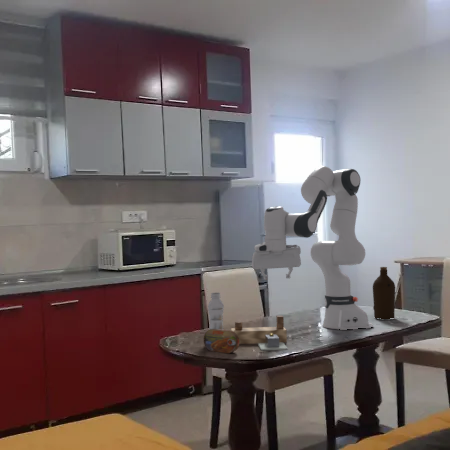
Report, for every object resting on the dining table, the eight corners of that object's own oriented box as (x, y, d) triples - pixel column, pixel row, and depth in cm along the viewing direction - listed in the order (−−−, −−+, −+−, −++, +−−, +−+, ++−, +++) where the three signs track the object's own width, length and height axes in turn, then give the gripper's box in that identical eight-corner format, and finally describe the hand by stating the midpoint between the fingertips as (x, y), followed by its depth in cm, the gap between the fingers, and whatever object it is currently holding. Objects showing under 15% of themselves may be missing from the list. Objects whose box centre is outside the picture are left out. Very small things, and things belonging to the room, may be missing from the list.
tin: (203, 350, 223) (202, 328, 223) (208, 348, 226) (207, 326, 226) (236, 354, 215) (235, 332, 215) (240, 353, 217) (240, 330, 217)
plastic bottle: (228, 341, 237) (227, 292, 236) (216, 344, 231) (215, 294, 231) (216, 339, 241) (215, 291, 240) (205, 342, 236) (204, 293, 235)
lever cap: (279, 347, 222) (279, 336, 222) (268, 347, 222) (267, 336, 222) (276, 343, 229) (276, 332, 229) (265, 343, 229) (265, 332, 229)
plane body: (283, 338, 241) (283, 314, 241) (286, 342, 234) (286, 317, 234) (230, 340, 239) (230, 316, 239) (232, 344, 232) (231, 319, 232)
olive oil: (399, 318, 282) (399, 266, 281) (388, 321, 275) (387, 268, 274) (380, 315, 290) (380, 265, 289) (368, 318, 282) (368, 267, 282)
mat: (282, 343, 231) (282, 342, 231) (287, 349, 221) (287, 347, 221) (257, 344, 230) (257, 343, 230) (261, 350, 220) (261, 348, 220)
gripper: (298, 243, 245) (300, 276, 245) (250, 246, 243) (252, 279, 243) (302, 245, 238) (303, 278, 239) (252, 247, 236) (254, 281, 237)
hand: (277, 278), depth 241 cm, fingers open, 8 cm apart
